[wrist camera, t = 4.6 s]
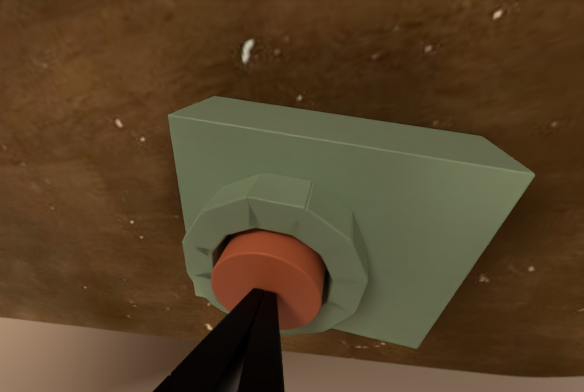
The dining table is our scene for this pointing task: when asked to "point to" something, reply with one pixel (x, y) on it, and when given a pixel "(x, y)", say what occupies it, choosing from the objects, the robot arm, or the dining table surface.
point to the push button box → (344, 205)
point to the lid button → (271, 274)
